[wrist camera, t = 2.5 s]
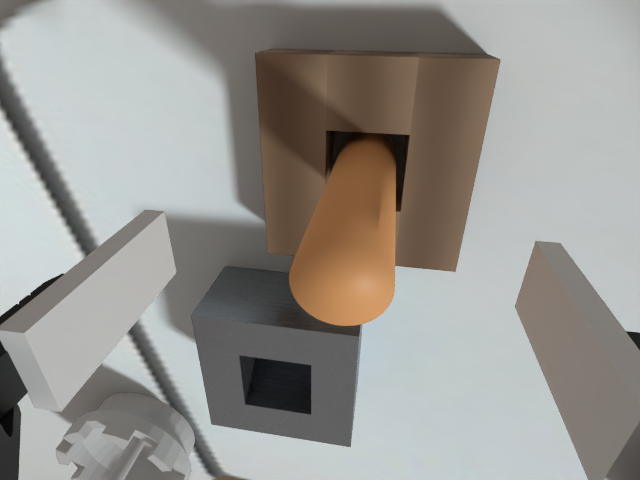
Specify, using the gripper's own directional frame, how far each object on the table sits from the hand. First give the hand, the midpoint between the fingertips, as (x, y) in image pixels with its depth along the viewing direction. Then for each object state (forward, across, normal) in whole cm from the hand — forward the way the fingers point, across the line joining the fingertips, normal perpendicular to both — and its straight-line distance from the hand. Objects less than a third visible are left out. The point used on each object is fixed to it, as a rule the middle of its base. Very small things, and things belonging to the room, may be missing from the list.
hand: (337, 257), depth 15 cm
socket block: (+12, +4, +15) cm, 20 cm away
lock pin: (+12, 0, 0) cm, 12 cm away
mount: (+12, 0, 0) cm, 12 cm away
